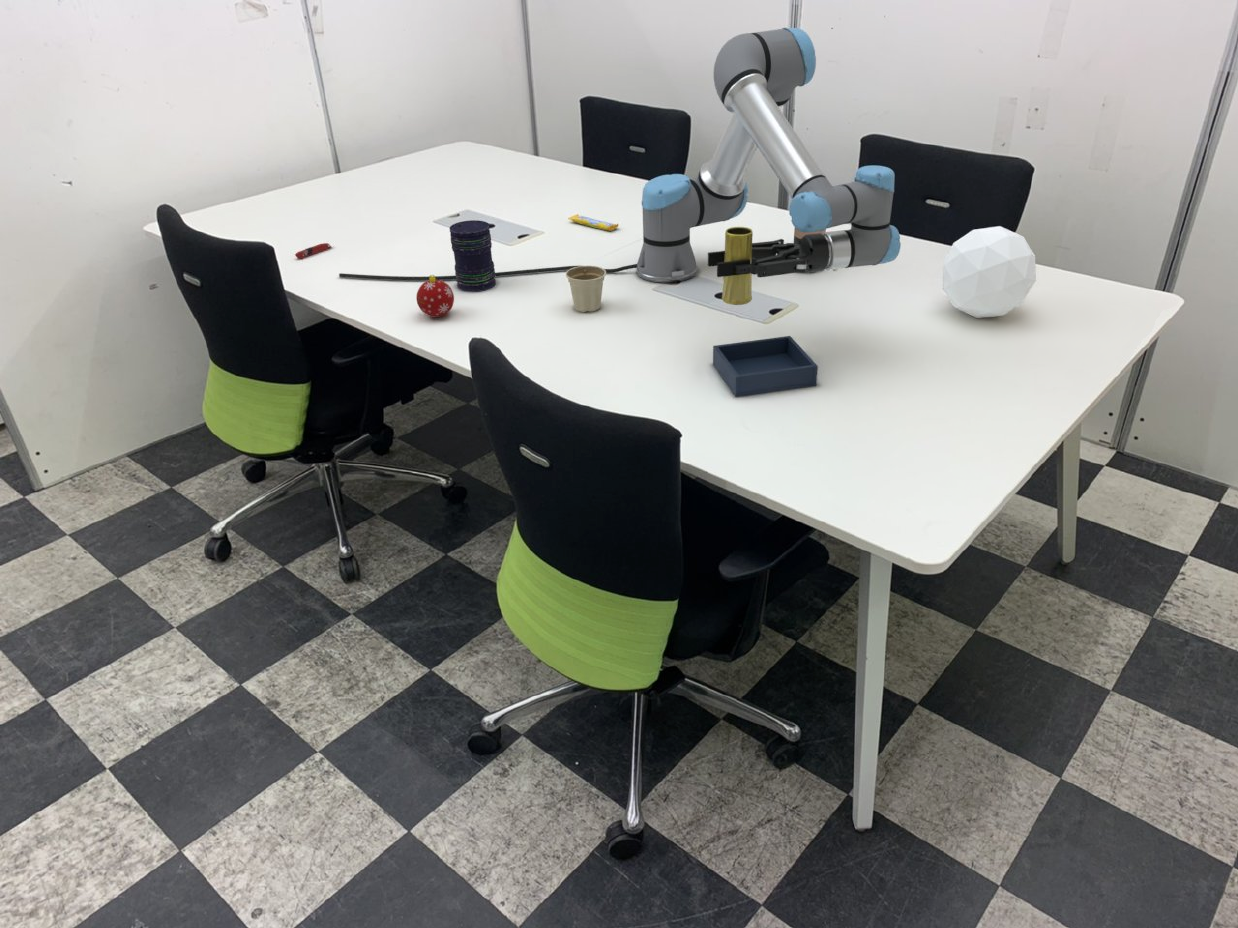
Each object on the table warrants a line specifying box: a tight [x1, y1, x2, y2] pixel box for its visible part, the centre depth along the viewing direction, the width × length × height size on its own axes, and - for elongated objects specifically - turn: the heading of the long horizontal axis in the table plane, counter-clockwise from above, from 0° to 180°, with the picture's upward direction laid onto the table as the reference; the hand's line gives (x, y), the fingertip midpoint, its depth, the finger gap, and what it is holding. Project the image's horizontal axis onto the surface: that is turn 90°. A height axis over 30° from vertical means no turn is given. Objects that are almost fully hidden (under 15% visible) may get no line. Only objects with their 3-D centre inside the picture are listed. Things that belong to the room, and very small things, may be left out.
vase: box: [721, 226, 754, 306], centre depth 185 cm, size 6×6×14 cm
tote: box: [712, 335, 819, 398], centre depth 186 cm, size 17×15×4 cm
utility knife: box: [294, 242, 332, 260], centre depth 259 cm, size 12×1×2 cm, turn 143°
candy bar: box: [568, 214, 620, 232], centre depth 270 cm, size 17×4×2 cm, turn 49°
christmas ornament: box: [416, 274, 455, 318], centre depth 216 cm, size 9×9×10 cm
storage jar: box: [449, 219, 497, 293], centre depth 231 cm, size 10×10×15 cm
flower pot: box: [565, 265, 607, 313], centre depth 217 cm, size 9×9×9 cm
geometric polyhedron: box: [941, 225, 1037, 319], centre depth 204 cm, size 19×20×20 cm
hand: (713, 264), depth 184 cm, fingers closed on vase, 5 cm apart
